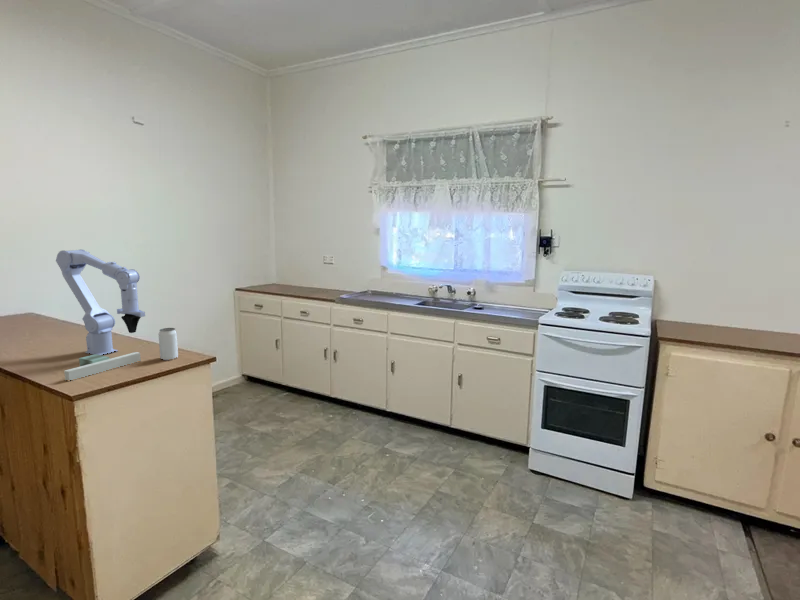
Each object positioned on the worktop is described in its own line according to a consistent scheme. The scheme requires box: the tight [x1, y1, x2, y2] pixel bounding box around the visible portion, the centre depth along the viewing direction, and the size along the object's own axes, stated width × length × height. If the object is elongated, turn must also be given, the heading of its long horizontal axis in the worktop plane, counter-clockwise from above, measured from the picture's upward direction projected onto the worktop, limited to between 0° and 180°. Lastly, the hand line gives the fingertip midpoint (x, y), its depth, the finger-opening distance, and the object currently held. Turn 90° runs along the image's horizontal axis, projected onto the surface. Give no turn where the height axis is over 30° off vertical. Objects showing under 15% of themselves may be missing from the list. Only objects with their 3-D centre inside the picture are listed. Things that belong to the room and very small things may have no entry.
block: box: [78, 354, 110, 367], centre depth 166 cm, size 8×6×4 cm
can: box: [158, 327, 179, 361], centre depth 179 cm, size 6×6×12 cm
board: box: [63, 351, 142, 381], centre depth 164 cm, size 2×26×4 cm, turn 155°
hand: (132, 332), depth 183 cm, fingers closed
